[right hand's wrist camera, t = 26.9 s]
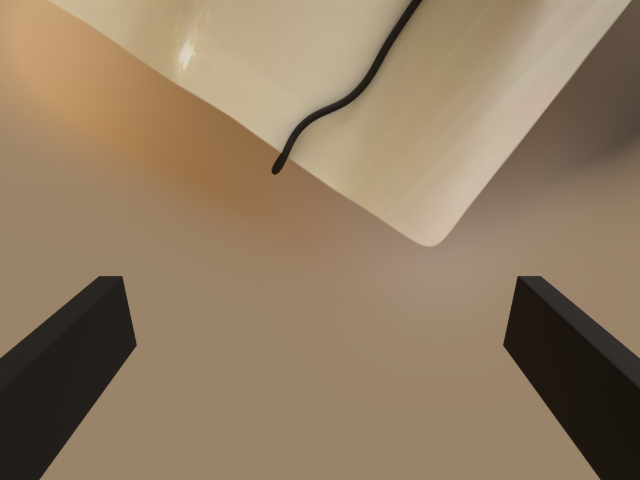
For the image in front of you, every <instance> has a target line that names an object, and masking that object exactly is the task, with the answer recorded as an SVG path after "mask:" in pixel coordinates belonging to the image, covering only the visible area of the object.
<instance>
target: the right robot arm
mask: <svg viewBox="0 0 640 480" xmlns="http://www.w3.org/2000/svg"><path fill="white" fill-rule="evenodd" d="M421 1H422V0H412V2H411V3H410V5H409V6H408V8H407V9H406V11H405V12H404V13H403V15H402V16H401V18H400V20H399V21H398V23H397V24H396V26H395V27H394V29H393V30H392V32H391V33H390V35H389V36H388V38H387V39H386V41H385V43H384V44H383V46H382V48H381V50H380V52H379V53H378V55H377V57H376V59H375V61H374V63H373V65H372V66H371V68H370V70H369V71H368V73H367V75H366V76H365V78H364V79H363V80H362V82H361V83H360V84H359V85H358V86H357V87H356V88H355V89H354V90H353V91H352V92H351V93H350V94H349V95H348V96H346V97H345V98H343V99H342V100H340V101H338V102H336V103H334V104H331V105H329V106H327V107H325V108H322V109H320V110H318V111H316V112H314V113H312V114H311V115H309V116H308V117H306V118H305V119H304V120H303V121H302V122H301V123H300V124H299V125H298V126H297V127H296V128H295V129H294V131H293V132H292V134H291V135H290V137H289V139H288V141H287V143H286V145H285V147H284V149H283V152H282V153H280V155H279V157H278V158H277V160H276V161H275V163H274V165H273V167H272V170H271V171H272V174H274V175H276V174H278V173H279V172H280V170H281V169H282V167H283V166H284V164H285V162H286V160H287V157H288V155H289V153H290V151H291V148H292V146H293V144H294V142H295V141H296V139H297V137H298V136H299V134H300V133H301V132H302V131H303V130H304V129H305V128H306V127H307V126H308V125H309V124H310V123H312V122H313V121H315V120H316V119H318V118H320V117H322V116H325V115H327V114H329V113H332V112H334V111H336V110H338V109H340V108H342V107H344V106H346V105H347V104H349V103H350V102H352V101H353V100H354V99H355V98H357V97H358V96H359V95H360V94H361V93H362V92H363V91H364V89H365V88H366V87H367V86H368V84H369V83H370V82H371V80H372V79H373V77H374V76H375V74H376V73H377V71H378V69H379V67H380V65H381V64H382V62H383V60H384V58H385V56H386V54H387V53H388V51H389V49H390V47H391V46H392V44H393V42H394V41H395V39H396V38H397V36H398V35H399V33H400V32H401V30H402V29H403V27H404V26H405V24H406V23H407V21H408V20H409V18H410V17H411V15H412V14H413V13H414V11H415V10H416V8H417V7H418V5H419V4H420V2H421ZM136 346H137V344H136V339H135V334H134V329H133V325H132V320H131V315H130V310H129V306H128V301H127V297H126V291H125V287H124V282H123V278H122V276H99V277H98V278H96V279H95V280H94V281H93V282H92V283H91V284H89V285H88V286H87V287H86V288H84V289H83V290H82V291H81V292H80V293H78V294H77V295H76V296H75V297H74V298H72V299H71V300H70V301H69V302H68V303H66V304H65V305H64V306H63V307H62V308H60V309H59V310H58V311H57V312H56V313H54V314H53V315H52V316H51V317H50V318H48V319H47V320H46V321H45V322H44V323H42V324H41V325H40V326H39V327H38V328H36V329H35V330H34V331H33V332H32V333H30V334H29V335H28V336H27V337H26V338H24V339H23V340H22V341H21V342H19V343H18V344H17V345H16V346H15V347H13V348H12V349H11V350H10V351H9V352H7V353H6V354H5V355H4V356H3V357H1V358H0V480H39V479H40V478H41V477H42V475H43V474H44V473H45V471H46V470H47V468H48V467H49V466H50V464H51V463H52V461H53V460H54V459H55V457H56V456H57V455H58V453H59V452H60V451H61V449H62V448H63V446H64V445H65V444H66V442H67V441H68V439H69V438H70V437H71V435H72V434H73V433H74V431H75V430H76V428H77V427H78V426H79V424H80V423H81V422H82V420H83V419H84V417H85V416H86V415H87V413H88V412H89V411H90V409H91V408H92V406H93V405H94V404H95V402H96V401H97V399H98V398H99V397H100V395H101V394H102V393H103V391H104V390H105V388H106V387H107V386H108V384H109V383H110V382H111V380H112V379H113V377H114V376H115V375H116V373H117V372H118V370H119V369H120V368H121V366H122V365H123V364H124V362H125V361H126V359H127V358H128V357H129V355H130V354H131V353H132V351H133V350H134V348H135V347H136ZM503 346H504V347H505V348H506V350H507V351H508V353H509V354H510V355H511V357H512V358H513V360H514V361H515V362H516V364H517V365H518V366H519V368H520V369H521V371H522V372H523V373H524V375H525V376H526V377H527V379H528V380H529V382H530V383H531V384H532V386H533V387H534V388H535V390H536V391H537V393H538V394H539V395H540V397H541V398H542V400H543V401H544V402H545V404H546V405H547V406H548V408H549V409H550V411H551V412H552V413H553V415H554V416H555V417H556V419H557V420H558V422H559V423H560V424H561V426H562V427H563V428H564V430H565V431H566V433H567V434H568V435H569V437H570V438H571V439H572V441H573V442H574V444H575V445H576V446H577V448H578V449H579V451H580V452H581V453H582V455H583V456H584V457H585V459H586V460H587V461H588V463H589V464H590V466H591V467H592V468H593V470H594V471H595V473H596V474H597V475H598V477H599V478H600V479H601V480H640V358H639V357H637V356H636V355H635V354H634V353H633V352H631V351H630V350H629V349H628V348H627V347H625V346H624V345H623V344H622V343H620V342H619V341H618V340H617V339H616V338H614V337H613V336H612V335H611V334H610V333H609V332H607V331H606V330H605V329H604V328H602V327H601V326H600V325H599V324H598V323H596V322H595V321H594V320H593V319H592V318H590V317H589V316H588V315H587V314H586V313H584V312H583V311H582V310H581V309H580V308H578V307H577V306H576V305H575V304H574V303H572V302H571V301H570V300H569V299H568V298H566V297H565V296H564V295H563V294H562V293H560V292H559V291H558V290H557V289H556V288H554V287H553V286H552V285H551V284H549V283H548V282H547V281H546V280H545V279H543V278H542V277H541V276H518V277H517V282H516V287H515V292H514V296H513V301H512V306H511V310H510V315H509V320H508V325H507V329H506V334H505V339H504V344H503Z"/></svg>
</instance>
